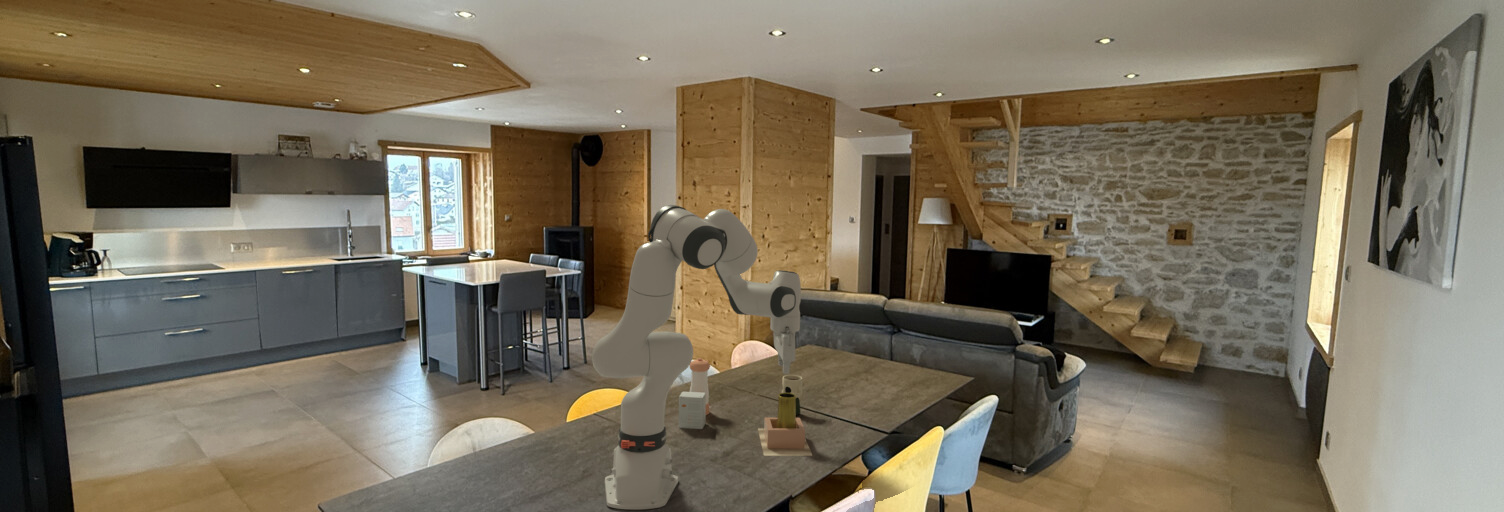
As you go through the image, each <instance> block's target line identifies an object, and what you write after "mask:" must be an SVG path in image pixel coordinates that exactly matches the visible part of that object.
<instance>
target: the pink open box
mask: <svg viewBox="0 0 1504 512" xmlns="http://www.w3.org/2000/svg"><path fill="white" fill-rule="evenodd" d="M801 419H802V418H800V417H796V428H777V421H778V417H764V424H763V426H764V428H763V429H764V437H765V441H766V445H767V448H804V447H805V439H806V429H805V426H804V425H803V422H802V420H801Z"/></svg>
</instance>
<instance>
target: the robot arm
mask: <svg viewBox="0 0 1504 512" xmlns="http://www.w3.org/2000/svg"><path fill="white" fill-rule="evenodd" d="M647 237H648V241H649V242H646V243H643V244H642V245H640V246H639V247H638V249H637V250H636V252H635V256H634V258H633V261H632V265H631V269H630V275H629V282H628V290H627V291H628V292H627V297H626V303H625V308H624V310H623V311H624V312H623V314H622V316H621V317H620V319H619V322H617V323H616V326H614V327H613V329H611V331H610V332H608V333H607V334H606V335H604V336H603V337H601V338H599V339H598V340H597V341H596V343H595V345H594V347H593V349H592V352H591V353H592V354H591V361H592V365H593V369H594V370H595V371H596V373H597V374H598V375H600V376H601V377H603V378H612V379H629V378H641V377H643V378H642V379H641V381H640V383H639V384H638V385H637V386H635V387H634V388H632V389H630V390H629V391H628V392H626V393H625V395H624V396H623V398H622V400H621V402H620V428H619V430H618V437H617V439H618V445H617V446H616V447H615V448H614V449H613V466H612V467H613V468H610V475H607V476H605V477H604V490H605V499H606V500H605V501H606V505H607V506H608V507H609V508H613V509H617V510H631V511H632V510H633V511H634V510H651V509H657V508H658V509H659V508H662V507H665V506H666V505H667V503H668V501H669V500H670V498H671V496H672V494H673V492H674V490H675V488H677V486H678V484H679V477H678V476H677V475H674V474H672V473H673V471H672V461H673V459H672V449H671V448H670V447H669V446H668V445H667V443H666V442H667V428H666V426H665V414H666V405H667V404H666V403H667V398H668V395H669V392H670V389H671V388H672V386H673V385H674V382H675V380H677V378H678V377H680V375H681V374H682V373H683V372H684V371H685V370H687V369H688V368H689V367H690V363H691V362H692V361H693V356H694V348H693V344H692V341H691V340H690V338H689V337H688V336H687V334H685V333H681V332H675V331H674V332H673V331H667V330H666V331H655V330H657V329H658V328H661V327H662V326H663V325H665V324H666V323H667V322H668V320H669V319H670V317H671V315H672V312H673V304H674V303H673V302H674V295H675V287H676V277H677V275H676V274H677V271H678V269H679V266H680V264H681V263H682V262H685V263H686V264H687V265H688V266H690V267H692V268H695V269H698V270H706V269H709V268H711V267H714V270H715V273H716V275H717V277H718V279H719V280H720V283H721V285H722V286H723V288H724V290H725V292H726V294H727V297H728V301H729V305H730V307H731V309H732V310H733V312H734V313H735V314H737V315H741V316H743V315H746V316H749V315H750V316H756V317H764V318H765V317H766V318H770V323H769V325H770V330H771V331H772V335H773V347H774V348H775V351H776V352H777V357H778V366H779V367H782V373H783V375H790V370H791V369H790V368H791V365H792V363H793V362H794V363H795V361H796V333H797V332H799V331H800V329H801V312H800V311H801V310H800V305H801V302H802V301H801V300H802V291H801V290H802V288H801V287H802V285H801V278H800V274H798V273H797V272H795V271H790V270H789V271H787V270H783V269H782V270H775V271H774V273H773V277H772V278H773V279H772V280H771V281H769V282H768V283H767V282H766V283H764V282H756V281H750V280H746V279H744V278H743V277H742V274H744V273H745V272H747V271H749V270H750V269H751V268H752V266H754V264H755V262H756V260H757V257H758V253H759V252H758V251H759V250H758V245H757V243H756V240H755V239H754V237H753V236H752V234H751V232H750V231H749V230H748V228H747V227H746V225H744V223H743V222H742V221H741V220H740V218H738V217H737V216H736V215H735V214H734V213H733V212H732V211H730V210H728V209H726V208H718V209H717V208H716V209H714V210H711V212H709V213H708V214H707V215H706V216H705V217H704V218H702V217H700V216H698V215H696V213H695V214H694V212H692V211H689V210H688V209H686V208H684V207H683V206H682V207H681V206H679V205H675V204H670V205H669V204H668V205H665V206H663V207H661V208H660V209H658V211H657V212H656V213H655V215H654V216H653V219H652V221H651V223H650V228H649V230H648V234H647Z"/></svg>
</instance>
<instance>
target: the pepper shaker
mask: <svg viewBox="0 0 1504 512" xmlns="http://www.w3.org/2000/svg"><path fill="white" fill-rule="evenodd" d="M710 368H711V364H710V363H709V361H707V360H705V359H703V358H702V357H698V358H697V359H695V360H694V359H693V360H692V361H691V363H690V365H689V369H690V370H691V383H690V388H689V392H701V393H706V416H708V415H709V414H710V401H709V400H710V399H709V398H710V397H709V396H710V392H709V391H710V390H709V385H708V375H709V374H708V373H709V372H708V371H709V370H710Z"/></svg>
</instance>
